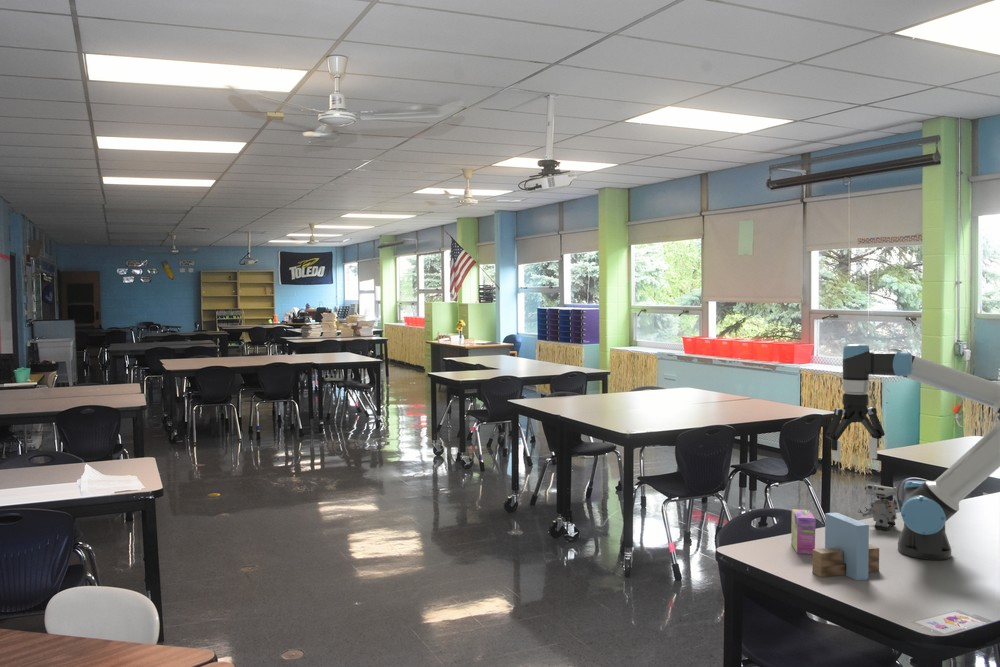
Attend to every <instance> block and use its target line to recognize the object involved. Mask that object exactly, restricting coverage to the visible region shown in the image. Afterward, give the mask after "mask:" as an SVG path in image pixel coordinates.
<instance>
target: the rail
mask: <svg viewBox="0 0 1000 667" xmlns="http://www.w3.org/2000/svg"><path fill="white" fill-rule="evenodd" d="M811 568H812V570H811V571H812V573H813V574H814V575H816V576H818V577H820V578H826V577H835V576H836V577H837V576H844V575H845V576H846V564H845V563H843V551H840V550H838V549H836V548H834V547H833V548H825V547H824V548H815V549H813V554H812V566H811ZM874 572H876V573H877V572H880V548H879V547H878V546H876V545H873V544H871V543H869V558H868V573H874Z"/></svg>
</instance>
